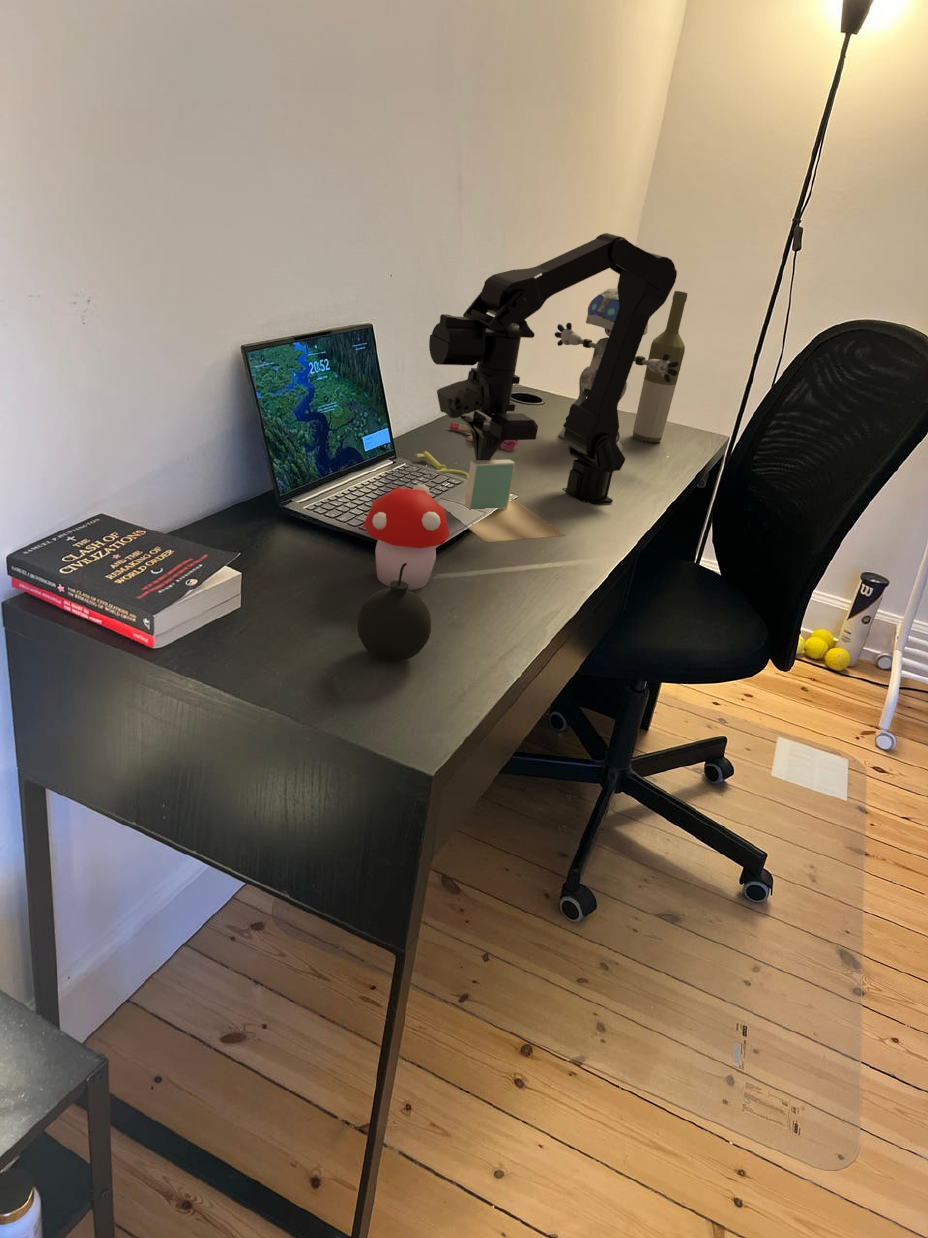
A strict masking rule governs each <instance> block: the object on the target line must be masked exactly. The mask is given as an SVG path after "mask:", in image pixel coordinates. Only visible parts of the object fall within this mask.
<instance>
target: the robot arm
mask: <svg viewBox="0 0 928 1238" xmlns="http://www.w3.org/2000/svg"><path fill="white" fill-rule="evenodd" d="M609 269H610V270H611V271H613V272H614V273H617V274H618V275H619V277H618V282H617V287H616V288H617V289H618V299H619V310H618V313H617V316H616V319H615V322H614V325H613V328H612V330H611V333H610V336H608V337H609V339H608V342H607V345H606V347H605V350H604V353H603V356H602V359H601V362H600V365H599V367H598V370H597V373H596V376H595V379H594V382H593V384H592V387H591V390H590V393H589V395H588V397H586V399H585V400H584V401H583V402H582V403H581V404H580V405H579V406H578V405H576V404H574V403H572V404H571V406H570V408H569V411H568V415H567V416H568V418H567V420H565V422H564V423H563V425H562V427H563V428H564V427H565V433H564V438H565V439H564V438H563V439H564V440H565V441H566V445H567V449H568V455H570V456H571V457H574V458H576V459H574V460H573V462H572V468H571V469H570V470H569V474H568V479H567V483H566V487H563V488H562V489H561V490H563V491H564V492H565V493H566V494H568V495H569V496H571V497H573V498H574V499H577V500H578V501H580V502H582V503H589V504H590V505H597V504H599V505H601V504H612V503H613V501H614V500H613V499H612V498H611V497H609V496H608V495H609V491H610V486H611V482H612V478H613V473H614V472H617V471H618V472H619V471H621V469H622V467H623V465H624V463H625V461H626V457H625V455H624V454H623V453H622V451H620V449H619V448H618V446H617V445H616V439H617V434H618V432H619V429H620V421H619V413H618V412H619V411H618V406H619V402H620V401H621V400H620V397H621V395H622V392H623V389H624V386H625V384H626V382H627V380H628V377H629V375H630V373H631V370H632V368H633V367H632V366H633V364H634V359H635V356H636V357H637V353H638V350H639V348H640V345H641V342H642V339H643V336H644V335H643V334H644V331H645V329H646V326H647V323H648V324H649V320H650V318H651V317H652V316H653V315H654V314H655V313H656V312H657V311H658V310H659V309H660V308H661V307H662V306H663V305H664V304H665V303H666V301H667V299H668V297H669V295H670V293H671V292H672V289H673V287H674V286H675V283H676V280H677V275H678V270H676V266H675V263H674V262H673V260H672V259H671V258H669V257H667V256H664V255H660V254H656V253H652V252H649V251H647V250H644V249H642V248H640V247H638V246H637V245H635V244H633V243H632V242H630V241H628V240H627V239H626V238H625V237H623V236H619V235H615V234H613V233H612V234H611V233H608V232H606V233H605V232H604V233H601V234H599V235H597V236H596V237H595V239H594V238H593V240H591V241H588V242H586V243H583V244H582V245H579V246H577V247H575V248H573V249H571V250H569V251H567V252H564V253H562V254H560V255H558V256H556V257H554V258H551V259H550V260H547V261H545V262H543V263H540V264H539V265H538V264H537V266H533V267H530V268H529V267H528V268H520V269H519V268H518V269H511V270H506V271H502V272H500V273H499V272H498V273H494V274H493V275H491V276H489V277H487V279H486V280H484V284H483V286H482V289H481V292H480V293H479V294H478V295H477V297H476V298H475V299H474V300H473V302H471V304H470V305H469V307H468V308H467V309H466V310H465V311H464V312H463V315H462V316H456V315H455V316H454V315H451V314H443V313H442V314H440V316H439V322H438V323H437V324H436V325H435V326H434V327H433V330H432V332H431V334H430V335H429V343H428V345H429V350H428V351H429V354H430V357H431V360H432V362H434V364H435V365H437V366H439V365H442V366H443V365H444V366H475V365H476V364H477V365H476V367H470V370H469V371H468V375H467V379H464V380H460V381H456V382H454V383H450V384H448V385H446V386H443V387H440V388H439V389H437V390H436V395H437V400H438V405H439V410H440V412H441V413H444V414H446V415H447V417H449V418H452V419H458V418H460V420H461V421H463V422H464V423H465V425H467V426H468V427H469V428H470V430H471V433H470V434H471V435H472V438H473V442H472V445H473V451H474V457H475V461H480V460H492V457H493V456H494V455H495V454H496V452H497V451H498V449H499V448H500V447H501V446H500V445H501V444H502V443H503V441H504V440H518V441H519V440H520V441H531V440H534V441H535V440H536V439H537V435H538V429H539V426H538V424H537V423H536V421H535V420H534V419H533V418H531V417H529V416H527V415H525V414H524V413H521V412H520V413H517V412H515V409H516V403H514V402H511V400H512V399H511V398H512V393H513V387H514V385H520V379H521V377H520V376H518V375H516V369H517V363H518V357H519V350H520V345H521V340H522V338H524V339H525V338H527V339H533V338H534V337H535V333H534V330H532V329H531V327H530V326H529V325H528V322H527V320H526V319H528V318H529V317H531V316H532V315H534V314H535V313H536V312H537V311H539V310H540V309H541V308H542V307H543V306H544V304H545V302H546V301H547V300H549V299H550V297H552V296H554V295H555V294H558V293H560V292H562V291H564V290H566V289H568V288H571V287H572V286H575V285H576V284H579V283H581V282H583V281H585V280H588V279H589V278H591V277H594V276H596V275H598V274H600V273H602V272H605V271H607V270H609ZM488 313H489V314H488ZM492 315H493V316H492ZM619 400H620V401H619ZM507 412H509V413H507ZM510 412H511V413H510ZM512 412H513V413H512ZM514 412H515V413H514ZM499 446H500V447H499Z"/></svg>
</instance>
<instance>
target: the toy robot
mask: <svg viewBox="0 0 928 1238" xmlns="http://www.w3.org/2000/svg"><path fill="white" fill-rule="evenodd" d="M618 310H619V299H618V289H617V287H616V288H615V287H614V288H613V287H612V288H607V289H605V290H604V291H602V292H600V293H599V294H597V295H596V296H595V297H594V298H593V299H591V301H590V303H589V304H588V307H587V315H586V320H585V323H586V324H587V325H593V326H597V327H600V328H603V329H604V332H605V333H604V334H605V335H606V337H603V338H600V339H599V340H598V341H596V343H595V342H593V340H592V339H589V338H584V339H582V337H581V335H579V334H578V333H576V332H574V330H572V327H573V325H572V323H571V322H567V323H566V325H565V327H566V328H565V327H564V326H563V324H561V323H558V324H557V327H556V328H557V330H558V331H556V332H555V333H554V337H556V338H557V339H560V340H558V341H557V343H556V344H557V345H558V347H561V346H562V345H564V346H565V345H566V346H570V345H571V346H577V345H582V347H583V348H585V349H591V348H592V349H594V350H593V354H592V358H591V361H590V364H589V365H588V366H587V367H585V368H584V369H583V370H582V372H581V374H580V376H579V380H578V381H579V383H578V384H579V385H578V386H579V389H578V390H579V392H578V393H579V394H578V397H577V398H576V400H575V401H574V402H573V404H576V405H578V406H579V405H580V404H581V403H582V402H583V401H584V400H585V399H586V398H587V397H588V395H589V393H590V390H591V387H592V384H593V382H594V379H595V376H596V373H597V370H598V367H599V365H600V362H601V359H602V356H603V353H604V350H605V347H606V345H607V342H608V339H609V336H610V333H611V330H612V328H613V325H614V322H615V319H616V316H617V313H618ZM648 327H649V322H648V323H647V326H646V329H645V331H644V334H643V336H645V335H647V333H648ZM669 358H670V355H669V354H668V353H665V354H664V356H663V358H662V359H660V360H659V359H651V360H648V359H646V356H642V355H636V356H635V359H634V362H635V363H634V362H633V363H634V364H635V365H637V366H646V367H648V368H649V369H650V370H651V371H653V372H655V373H657V375H658V376H661V377H664V378H665V381H666V382H670V381H671V378H670V376H669V374H670V375H672V376H676V375H677V374H678V371H677V370H674V369H671V368H673V367H677V366H678V364H679V363H678V361H673V362H669V361H668V359H669ZM627 386H628V382H627V381H626V384H625V386H624V389H623V392H622V395H621V397H620V400H619V402H620V401H621V400H622V398H623V397H624V395H625V393H626V391H627V388H628V387H627ZM567 418H568V415H567V416H566V417H565V418H564V419H565V421H566V420H567ZM564 433H565V427H563V428H561V430H560V431H559V433H558V435H559V436H560V437H561V439H564V440H566V439H565V438H564ZM620 435H621V434H620V432H619V431H618V434H617V439H616V445H617V446H618V448H619V449H620V451H621V452H622V451H623V446H622V443H621V441H620V438H621V436H620Z"/></svg>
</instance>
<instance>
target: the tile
mask: <svg viewBox="0 0 928 1238" xmlns="http://www.w3.org/2000/svg"><path fill="white" fill-rule="evenodd" d="M515 467H516V462H515V461H513V460H511V459H490V460H480V461H476V460H470V464H469V470H468V474H469V476H468V478H467V482H466V489H465V496H464V499H465V502H464V506H465V507H466V508H468V509H469V510H471V509H485V508H498V509H507V507H508V502H509V497H511V496H510V495H511V489H512V484H513V479H514V473H515V472H514V471H515Z"/></svg>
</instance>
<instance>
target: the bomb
mask: <svg viewBox="0 0 928 1238" xmlns="http://www.w3.org/2000/svg"><path fill="white" fill-rule="evenodd" d="M406 565H407V563H404V564H403V565H402V567H401V570H400V574H399V581H392V582H391V583H390V586H389V588H388V587H387V588H383V589H380V590H378V591H376V592H374V593H373V594H372V595H370V596H369V597H368V598H367V599H366V600H365V601H364V602H363V604H362V605H361V607H360V610H359V611H358V612H359V613H358V616H357V625H356V626H357V633H358V637H359V639H360V641H361V643H362V645H363V647H364V648H365V649H366V650H367V652H368V653H370V654H371V655H373V656H374V657H375V658H376V659H379V660H382V661H385V662H391V663H392V662H396V663H398V662H404V661H406V660H409V659H412V658H413V657H415V656H416V655H418V654H419V653H420V652H421V651H422V650H423V649H424V647H425V646H426V645H427V643H428V640H429V639H430V637H431V632H432V619H431V613H430V610H429V608H428V606H427V605H426V604H425V602H424V601H423V600H422V599H421V597H420V596H419V595H417V594H416V593H414V592H412V591H410V590H407V589H408V587H409V585H408V583H406V582H403V581H401V578H402V573H403V569H404V567H405V566H406Z"/></svg>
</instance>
